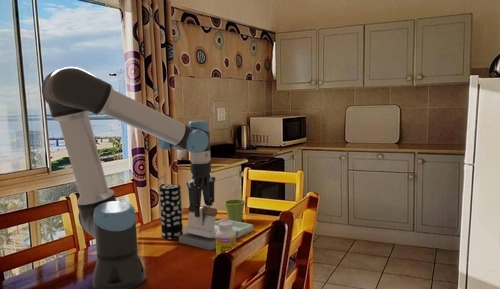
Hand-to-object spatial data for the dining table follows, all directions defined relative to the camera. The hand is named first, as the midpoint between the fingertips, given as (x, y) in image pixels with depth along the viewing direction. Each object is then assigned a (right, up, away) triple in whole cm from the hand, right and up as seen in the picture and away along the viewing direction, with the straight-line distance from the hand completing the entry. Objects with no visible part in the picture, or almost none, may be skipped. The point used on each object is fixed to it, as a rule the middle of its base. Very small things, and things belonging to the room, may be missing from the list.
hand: (203, 223), depth 156 cm
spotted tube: (-13, -7, +10) cm, 18 cm away
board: (+2, -7, +3) cm, 8 cm away
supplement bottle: (+10, -9, -18) cm, 22 cm away
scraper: (-1, -4, -1) cm, 4 cm away
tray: (+10, -6, +13) cm, 17 cm away
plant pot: (+11, -4, +27) cm, 30 cm away
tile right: (+5, -5, +1) cm, 7 cm away
